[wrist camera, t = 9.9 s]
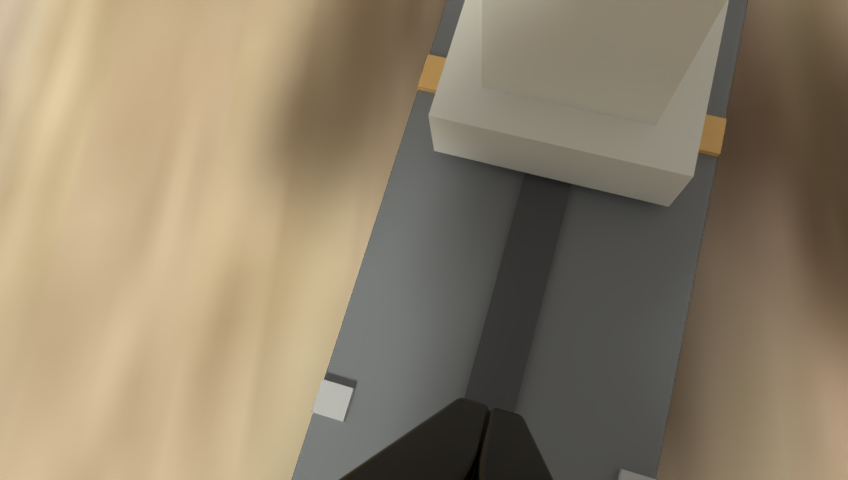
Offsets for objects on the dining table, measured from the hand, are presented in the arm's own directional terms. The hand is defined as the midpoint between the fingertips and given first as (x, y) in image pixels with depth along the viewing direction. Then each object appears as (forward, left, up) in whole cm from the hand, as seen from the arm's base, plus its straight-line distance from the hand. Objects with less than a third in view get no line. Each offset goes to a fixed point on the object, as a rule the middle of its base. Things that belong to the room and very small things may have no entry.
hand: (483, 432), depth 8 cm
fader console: (+4, +4, -9) cm, 10 cm away
